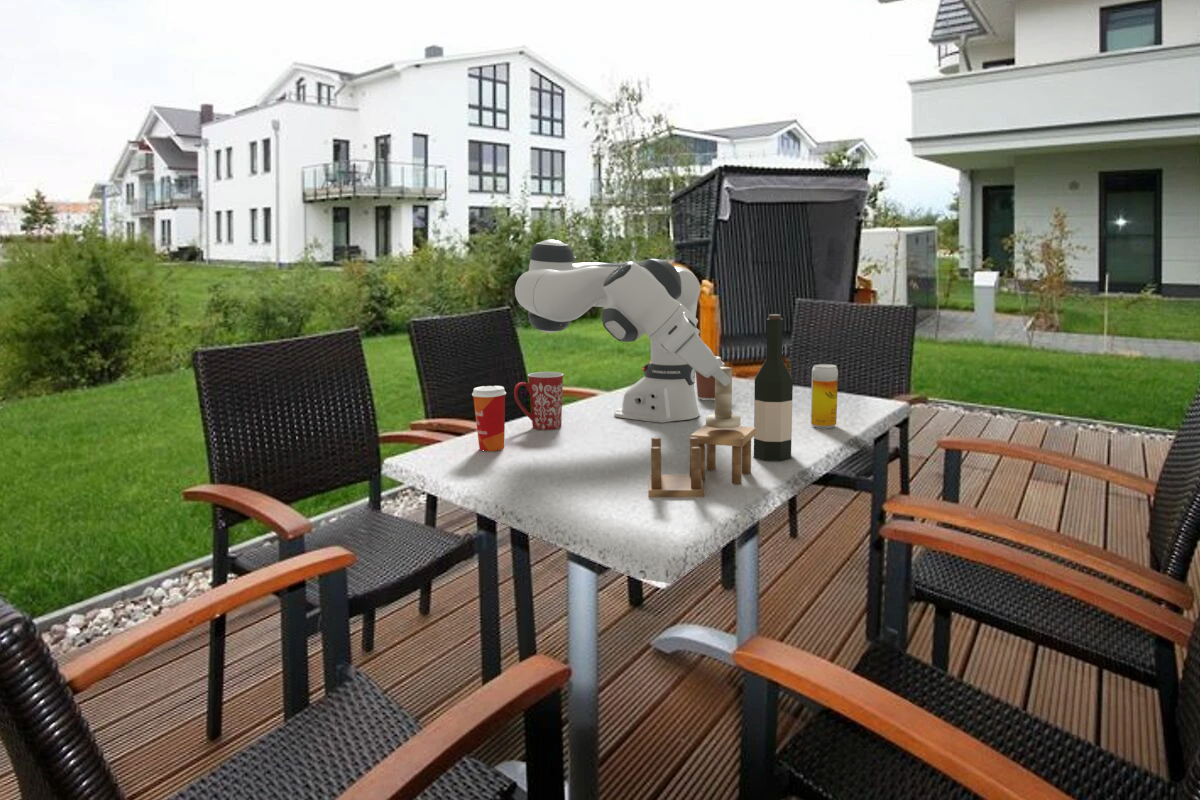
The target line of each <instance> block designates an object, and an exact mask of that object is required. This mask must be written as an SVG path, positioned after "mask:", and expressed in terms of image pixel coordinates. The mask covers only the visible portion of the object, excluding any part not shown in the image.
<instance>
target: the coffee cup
mask: <svg viewBox="0 0 1200 800" xmlns="http://www.w3.org/2000/svg"><path fill="white" fill-rule="evenodd" d="M715 357H716V358H717V360H718V361H719V363H720V367H725V362H723V361H722V358H721V356H717V355H716V356H715ZM695 383H696V393H697V399H698V398H699V399H698V400H700V399H705V400H704V401H712V400H711V399H715V377H713V376H712V375H711V376H710V377H709V378H706V377H704V376H703V375H701V374H700V373H699V372H697V371H696V370H695ZM706 399H707V400H706Z"/></svg>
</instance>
